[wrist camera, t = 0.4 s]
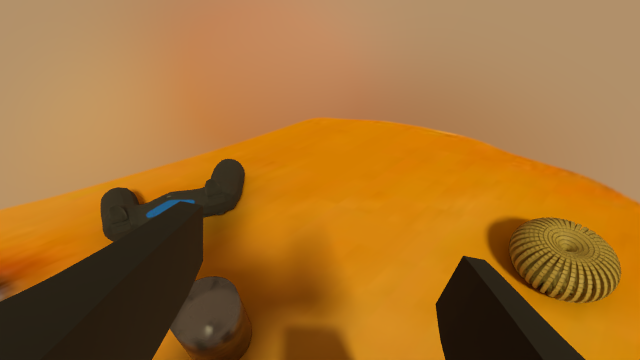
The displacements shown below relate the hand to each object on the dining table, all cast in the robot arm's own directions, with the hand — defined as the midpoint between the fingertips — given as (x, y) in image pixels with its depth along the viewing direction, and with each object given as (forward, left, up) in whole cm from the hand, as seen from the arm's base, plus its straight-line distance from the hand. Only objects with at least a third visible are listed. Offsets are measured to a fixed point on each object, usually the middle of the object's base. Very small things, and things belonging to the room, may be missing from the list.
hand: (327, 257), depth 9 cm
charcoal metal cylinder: (+6, +10, -19) cm, 22 cm away
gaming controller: (+20, +19, -19) cm, 34 cm away
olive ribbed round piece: (+13, -19, -19) cm, 30 cm away
